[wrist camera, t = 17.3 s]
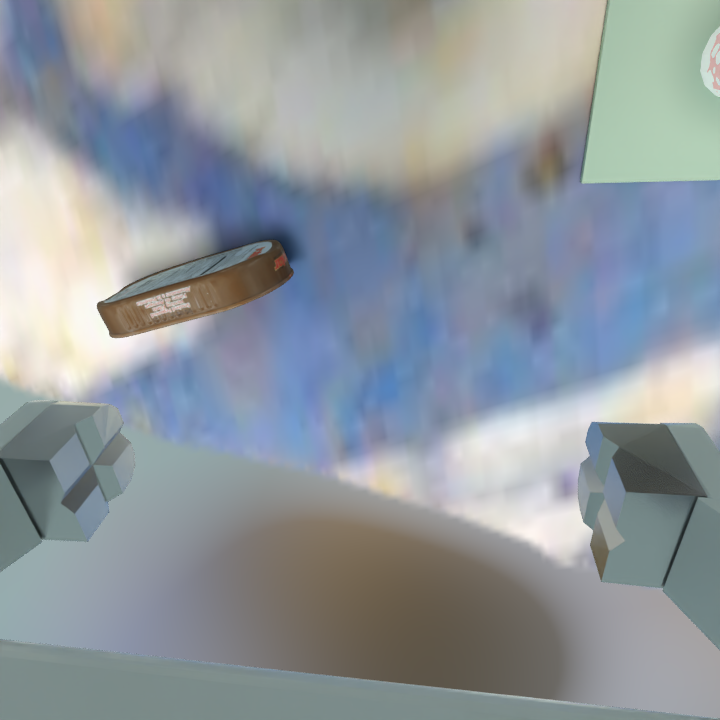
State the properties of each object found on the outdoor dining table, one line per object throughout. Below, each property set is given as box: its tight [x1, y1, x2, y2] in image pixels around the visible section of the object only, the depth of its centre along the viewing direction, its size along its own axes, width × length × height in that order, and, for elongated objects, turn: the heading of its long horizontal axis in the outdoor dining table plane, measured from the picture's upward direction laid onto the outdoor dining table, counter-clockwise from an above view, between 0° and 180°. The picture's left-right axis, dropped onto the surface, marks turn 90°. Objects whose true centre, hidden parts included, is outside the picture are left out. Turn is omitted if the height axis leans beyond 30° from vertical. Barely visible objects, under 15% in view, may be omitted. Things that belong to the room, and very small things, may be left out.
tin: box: [97, 240, 294, 338], centre depth 39 cm, size 15×3×8 cm, turn 109°
